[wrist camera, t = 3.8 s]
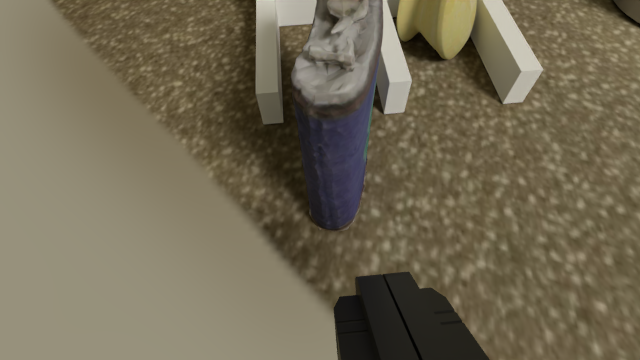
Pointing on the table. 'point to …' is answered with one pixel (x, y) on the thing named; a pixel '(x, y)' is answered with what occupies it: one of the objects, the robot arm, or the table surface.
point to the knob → (437, 23)
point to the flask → (337, 106)
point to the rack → (397, 54)
